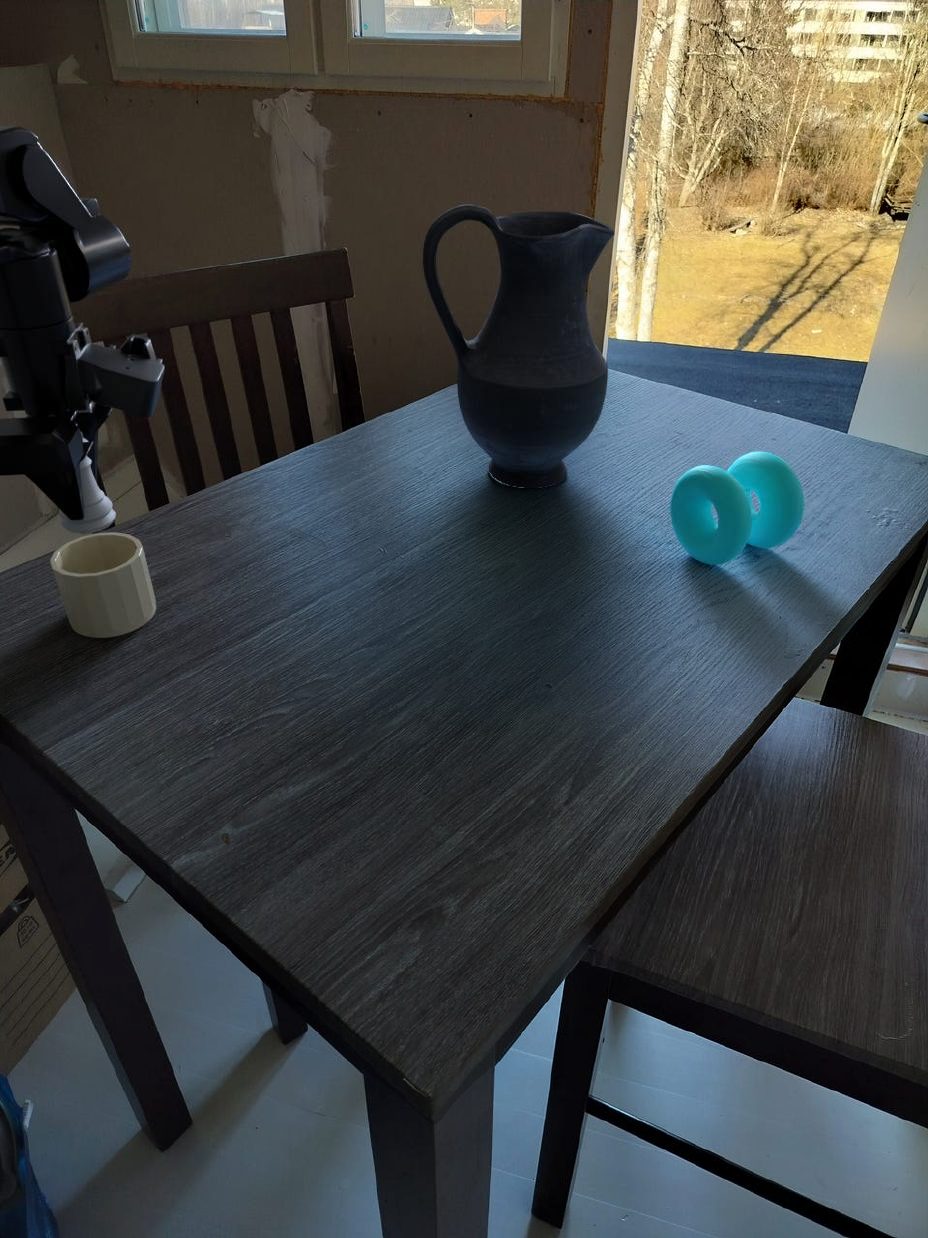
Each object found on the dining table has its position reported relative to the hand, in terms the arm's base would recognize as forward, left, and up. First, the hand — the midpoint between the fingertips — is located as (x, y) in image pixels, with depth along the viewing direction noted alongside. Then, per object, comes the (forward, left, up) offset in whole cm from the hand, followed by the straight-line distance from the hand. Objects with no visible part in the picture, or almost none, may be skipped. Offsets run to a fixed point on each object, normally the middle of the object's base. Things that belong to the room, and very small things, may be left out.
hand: (84, 506), depth 72 cm
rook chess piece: (0, 0, -2) cm, 2 cm away
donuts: (+61, +4, -11) cm, 62 cm away
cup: (0, 0, -11) cm, 11 cm away
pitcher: (+42, +25, -11) cm, 50 cm away
